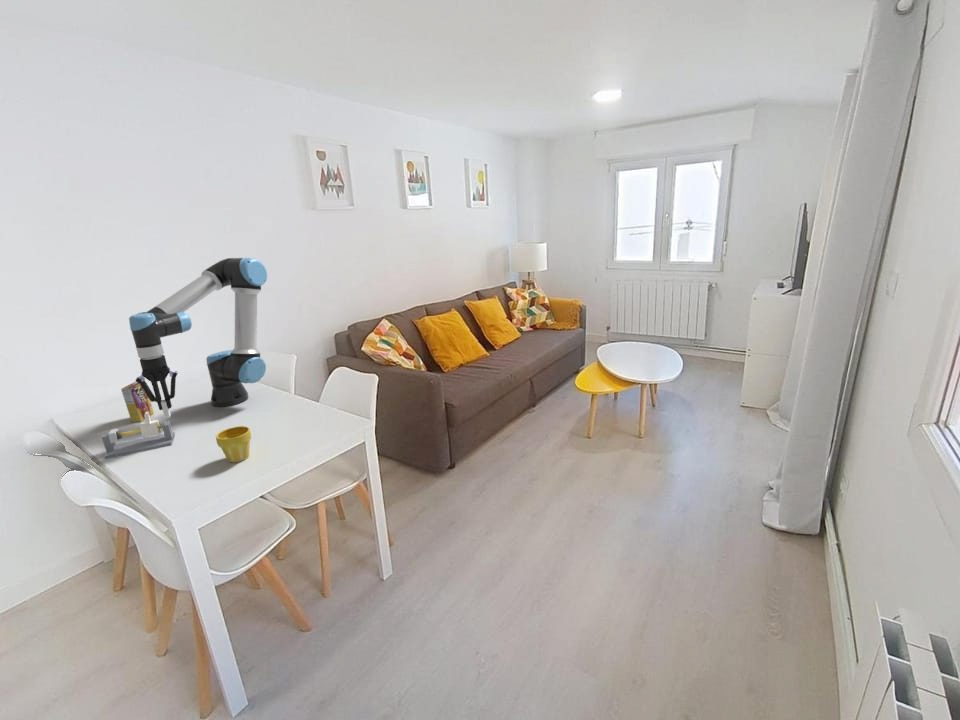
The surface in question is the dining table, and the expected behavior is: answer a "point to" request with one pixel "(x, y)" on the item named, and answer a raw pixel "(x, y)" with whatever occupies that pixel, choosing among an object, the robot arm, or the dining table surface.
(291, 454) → the dining table surface
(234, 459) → the plant pot
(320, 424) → the dining table surface
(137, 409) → the candy box
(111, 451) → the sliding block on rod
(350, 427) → the dining table surface
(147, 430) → the cream slider carriage
